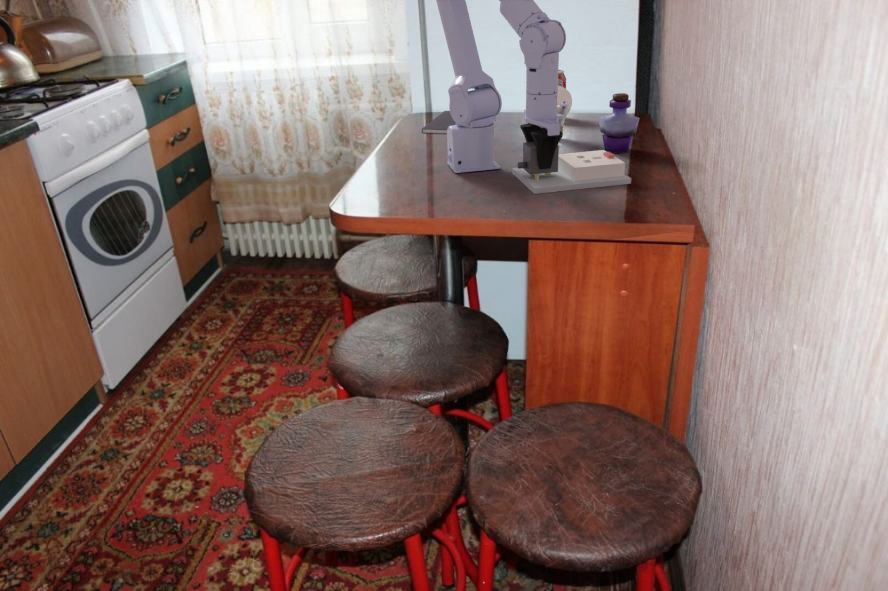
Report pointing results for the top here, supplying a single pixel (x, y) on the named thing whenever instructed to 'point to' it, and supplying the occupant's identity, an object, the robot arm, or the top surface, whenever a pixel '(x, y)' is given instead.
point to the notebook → (439, 123)
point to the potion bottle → (618, 125)
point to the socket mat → (564, 181)
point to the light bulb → (563, 104)
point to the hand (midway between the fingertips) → (540, 164)
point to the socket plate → (590, 165)
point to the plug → (531, 161)
